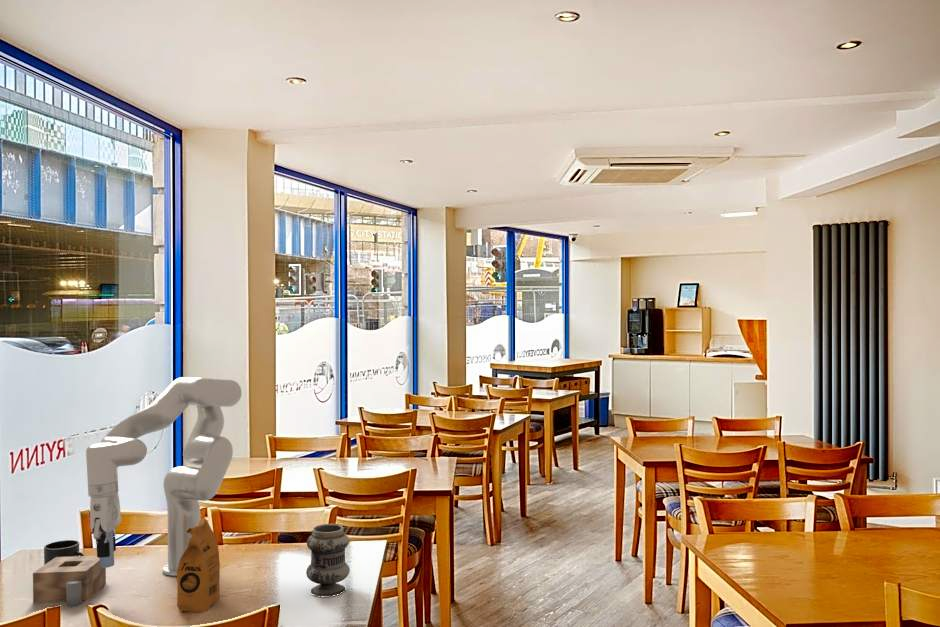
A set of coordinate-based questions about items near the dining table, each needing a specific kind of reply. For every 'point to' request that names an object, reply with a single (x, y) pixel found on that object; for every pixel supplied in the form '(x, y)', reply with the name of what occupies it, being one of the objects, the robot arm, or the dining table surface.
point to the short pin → (73, 593)
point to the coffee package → (199, 571)
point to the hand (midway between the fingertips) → (106, 553)
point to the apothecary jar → (327, 559)
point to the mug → (61, 550)
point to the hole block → (67, 577)
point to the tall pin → (109, 560)
